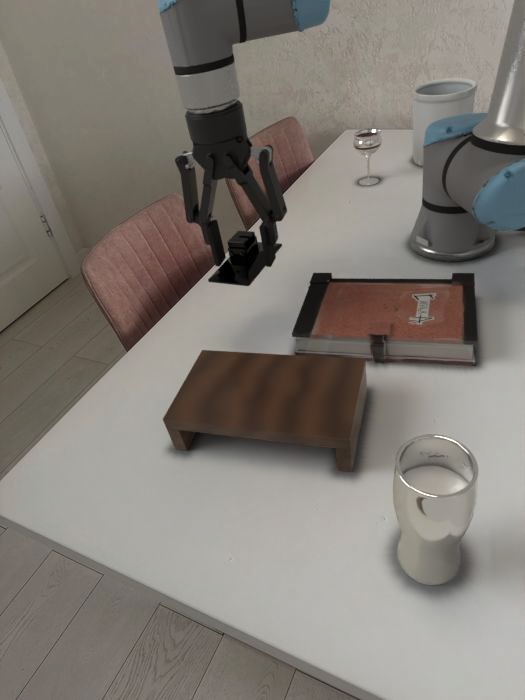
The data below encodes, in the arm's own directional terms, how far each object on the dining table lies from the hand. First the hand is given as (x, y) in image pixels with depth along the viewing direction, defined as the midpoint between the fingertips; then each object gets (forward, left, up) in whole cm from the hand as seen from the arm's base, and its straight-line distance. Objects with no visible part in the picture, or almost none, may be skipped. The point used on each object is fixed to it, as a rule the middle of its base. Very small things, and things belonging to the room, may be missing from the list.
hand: (245, 261), depth 77 cm
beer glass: (-29, +36, -13) cm, 48 cm away
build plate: (0, 0, 0) cm, 1 cm away
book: (-21, -2, -13) cm, 25 cm away
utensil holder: (-28, -76, -13) cm, 82 cm away
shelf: (-8, +20, -13) cm, 25 cm away
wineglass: (-11, -63, -13) cm, 65 cm away
